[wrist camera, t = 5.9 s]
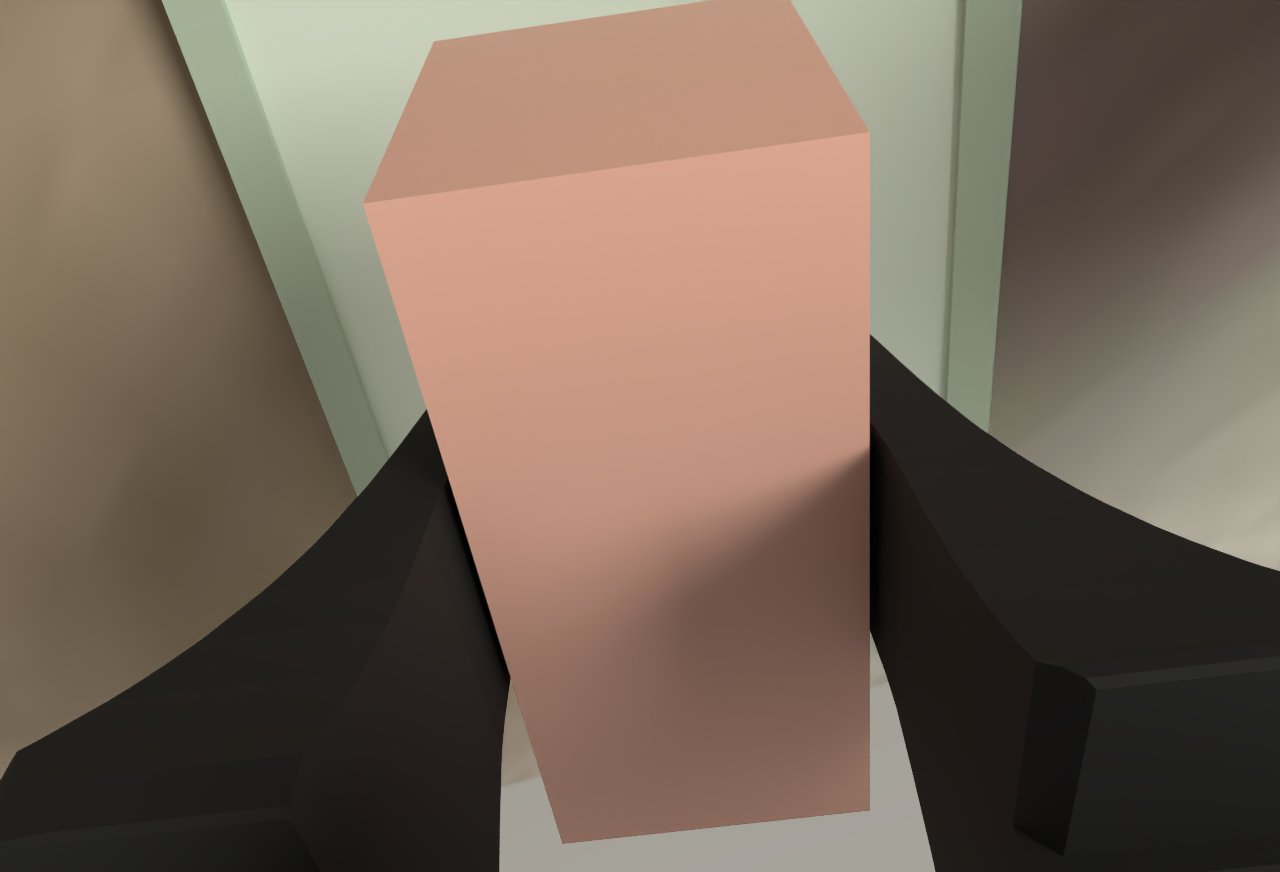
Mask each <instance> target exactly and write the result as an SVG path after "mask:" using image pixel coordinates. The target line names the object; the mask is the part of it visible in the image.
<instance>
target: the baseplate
mask: <svg viewBox="0 0 1280 872" xmlns="http://www.w3.org/2000/svg"><path fill="white" fill-rule="evenodd" d="M702 1H709V0H162V2H163V5H164V7H165V10H166V13H167V15H168V18H169V20H170V23H171V25H172V28H173V30H174V33H175V35H176V38H177V40H178V43H179V46H180V48H181V51H182V53H183V56H184V58H185V61H186V63H187V66H188V68H189V71H190V73H191V76H192V79H193V81H194V84H195V86H196V89H197V91H198V94H199V96H200V99H201V101H202V104H203V106H204V109H205V112H206V114H207V117H208V119H209V122H210V124H211V127H212V129H213V132H214V134H215V137H216V139H217V142H218V145H219V147H220V150H221V152H222V155H223V157H224V160H225V162H226V165H227V167H228V170H229V173H230V175H231V178H232V180H233V183H234V185H235V188H236V190H237V193H238V195H239V198H240V200H241V203H242V206H243V208H244V211H245V213H246V216H247V218H248V221H249V223H250V226H251V228H252V231H253V233H254V236H255V239H256V241H257V244H258V246H259V249H260V251H261V254H262V256H263V259H264V261H265V264H266V266H267V269H268V272H269V274H270V277H271V279H272V282H273V284H274V287H275V289H276V292H277V294H278V297H279V299H280V302H281V305H282V307H283V310H284V312H285V315H286V317H287V320H288V322H289V325H290V327H291V330H292V332H293V335H294V338H295V340H296V343H297V345H298V348H299V350H300V353H301V355H302V358H303V360H304V363H305V365H306V368H307V371H308V373H309V376H310V378H311V381H312V383H313V386H314V388H315V391H316V393H317V396H318V398H319V401H320V404H321V406H322V409H323V411H324V414H325V416H326V419H327V421H328V424H329V426H330V429H331V432H332V434H333V437H334V439H335V442H336V444H337V447H338V449H339V452H340V454H341V457H342V459H343V462H344V465H345V467H346V470H347V472H348V475H349V477H350V480H351V482H352V485H353V487H354V490H355V492H356V495H357V497H358V496H359V495H360V493H361V492H362V491H363V490H364V489H365V488H366V487H367V486H368V484H369V483H370V482H371V481H372V479H373V478H374V477H375V475H376V474H377V473H378V472H379V470H380V469H381V468H382V467H383V465H384V464H385V463H386V462H387V460H388V459H389V458H390V457H391V455H392V454H393V453H394V452H395V450H396V449H397V448H398V446H399V445H400V444H401V442H402V441H403V440H404V438H405V437H406V436H407V434H408V433H409V432H410V430H411V429H412V428H413V426H414V425H415V424H416V422H417V421H418V420H419V418H420V417H421V416H422V414H423V413H424V412H425V410H426V409H427V408H426V405H425V401H424V398H423V395H422V392H421V389H420V385H419V382H418V379H417V376H416V373H415V369H414V366H413V363H412V360H411V357H410V353H409V350H408V347H407V344H406V341H405V337H404V334H403V331H402V328H401V325H400V321H399V318H398V315H397V312H396V309H395V305H394V302H393V299H392V296H391V293H390V289H389V286H388V283H387V280H386V277H385V273H384V270H383V267H382V264H381V261H380V257H379V254H378V251H377V248H376V245H375V241H374V238H373V235H372V232H371V229H370V225H369V222H368V219H367V216H366V213H365V209H364V206H363V202H364V200H365V197H366V195H367V193H368V190H369V188H370V186H371V184H372V181H373V179H374V177H375V174H376V172H377V170H378V168H379V165H380V163H381V161H382V158H383V156H384V154H385V152H386V149H387V147H388V145H389V143H390V140H391V138H392V136H393V133H394V131H395V129H396V127H397V124H398V122H399V120H400V117H401V115H402V113H403V111H404V108H405V106H406V104H407V101H408V99H409V97H410V95H411V92H412V90H413V88H414V85H415V83H416V81H417V79H418V76H419V74H420V72H421V70H422V67H423V65H424V63H425V60H426V58H427V56H428V54H429V51H430V49H431V47H432V44H433V42H434V41H439V40H446V39H453V38H459V37H466V36H473V35H480V34H486V33H493V32H500V31H506V30H513V29H520V28H527V27H533V26H540V25H547V24H554V23H560V22H567V21H574V20H581V19H587V18H594V17H601V16H608V15H614V14H621V13H628V12H635V11H641V10H648V9H655V8H661V7H668V6H675V5H682V4H688V3H695V2H702ZM790 1H791V2H792V4H793V6H794V7H795V9H796V11H797V12H798V14H799V16H800V17H801V19H802V21H803V22H804V24H805V26H806V27H807V29H808V31H809V32H810V34H811V35H812V37H813V39H814V40H815V42H816V44H817V45H818V47H819V49H820V50H821V52H822V54H823V55H824V57H825V59H826V60H827V62H828V64H829V65H830V67H831V69H832V70H833V72H834V74H835V75H836V77H837V79H838V80H839V82H840V84H841V85H842V87H843V89H844V90H845V92H846V94H847V95H848V97H849V99H850V100H851V102H852V103H853V105H854V107H855V108H856V110H857V112H858V113H859V115H860V117H861V118H862V120H863V122H864V123H865V125H866V127H867V128H868V130H869V132H870V334H871V335H872V336H873V337H874V338H875V339H876V340H878V341H879V342H880V343H881V344H882V345H883V346H884V347H885V348H886V349H887V350H888V351H889V352H891V353H892V354H893V355H894V356H895V357H896V358H897V359H898V360H899V361H900V362H901V363H902V364H904V365H905V366H906V367H907V368H908V369H909V370H910V371H911V372H913V373H914V374H915V375H916V376H917V377H918V378H919V379H920V380H922V381H923V382H924V383H925V384H926V385H927V386H928V387H930V388H931V389H932V390H933V391H934V392H935V393H937V394H938V395H939V396H940V397H942V398H943V399H944V400H945V401H947V402H948V403H949V404H950V405H951V406H953V407H954V408H955V409H956V410H958V411H959V412H960V413H961V414H963V415H964V416H965V417H966V418H968V419H969V420H970V421H971V422H973V423H974V424H975V425H977V426H978V427H979V428H981V429H982V430H984V431H985V432H987V433H988V432H989V419H990V406H991V394H992V381H993V368H994V356H995V343H996V330H997V318H998V305H999V292H1000V280H1001V267H1002V254H1003V241H1004V229H1005V216H1006V203H1007V191H1008V178H1009V165H1010V153H1011V140H1012V127H1013V115H1014V102H1015V89H1016V77H1017V64H1018V51H1019V38H1020V26H1021V13H1022V0H790Z"/></svg>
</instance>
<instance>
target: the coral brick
mask: <svg viewBox="0 0 1280 872" xmlns="http://www.w3.org/2000/svg"><path fill="white" fill-rule="evenodd" d="M363 206H364V209H365V213H366V216H367V219H368V222H369V225H370V229H371V232H372V235H373V238H374V241H375V245H376V248H377V251H378V254H379V257H380V261H381V264H382V267H383V270H384V273H385V277H386V280H387V283H388V286H389V289H390V293H391V296H392V299H393V302H394V305H395V309H396V312H397V315H398V318H399V321H400V325H401V328H402V331H403V334H404V337H405V341H406V344H407V347H408V350H409V353H410V357H411V360H412V363H413V366H414V369H415V373H416V376H417V379H418V382H419V385H420V389H421V392H422V395H423V398H424V401H425V405H426V408H427V411H428V414H429V418H430V421H431V424H432V427H433V430H434V434H435V437H436V440H437V443H438V446H439V450H440V453H441V456H442V459H443V462H444V466H445V469H446V472H447V475H448V478H449V482H450V485H451V488H452V491H453V494H454V498H455V501H456V504H457V507H458V510H459V514H460V517H461V520H462V523H463V526H464V530H465V533H466V536H467V539H468V542H469V546H470V549H471V552H472V555H473V558H474V562H475V565H476V568H477V571H478V574H479V578H480V581H481V584H482V587H483V590H484V594H485V597H486V600H487V603H488V606H489V610H490V613H491V616H492V619H493V622H494V626H495V629H496V632H497V635H498V638H499V642H500V645H501V648H502V651H503V654H504V658H505V661H506V664H507V667H508V670H509V674H510V677H511V680H512V683H513V686H514V690H515V693H516V696H517V699H518V702H519V706H520V709H521V712H522V715H523V718H524V722H525V725H526V728H527V731H528V734H529V738H530V741H531V744H532V747H533V751H534V754H535V757H536V760H537V763H538V767H539V770H540V773H541V776H542V779H543V782H544V786H545V789H546V792H547V795H548V799H549V802H550V805H551V808H552V811H553V815H554V818H555V821H556V824H557V827H558V830H559V834H560V837H561V840H562V843H563V844H565V843H574V842H583V841H592V840H601V839H610V838H620V837H629V836H638V835H648V834H657V833H666V832H675V831H684V830H694V829H702V828H712V827H720V826H730V825H740V824H749V823H758V822H767V821H777V820H786V819H794V818H804V817H813V816H822V815H831V814H841V813H850V812H860V811H869V809H870V807H869V806H870V798H869V797H870V793H869V791H870V789H869V788H870V787H869V784H870V780H869V778H870V775H869V774H870V772H869V771H870V770H869V769H870V763H869V762H870V759H869V758H870V752H869V751H870V745H869V744H870V740H869V739H870V735H869V734H870V733H869V732H870V726H869V724H870V723H869V722H870V716H869V715H870V714H869V713H870V711H869V709H870V707H869V706H870V704H869V703H870V702H869V701H870V696H869V695H870V132H869V130H868V128H867V127H866V125H865V123H864V122H863V120H862V118H861V117H860V115H859V113H858V112H857V110H856V108H855V107H854V105H853V103H852V102H851V100H850V99H849V97H848V95H847V94H846V92H845V90H844V89H843V87H842V85H841V84H840V82H839V80H838V79H837V77H836V75H835V74H834V72H833V70H832V69H831V67H830V65H829V64H828V62H827V60H826V59H825V57H824V55H823V54H822V52H821V50H820V49H819V47H818V45H817V44H816V42H815V40H814V39H813V37H812V35H811V34H810V32H809V31H808V29H807V27H806V26H805V24H804V22H803V21H802V19H801V17H800V16H799V14H798V12H797V11H796V9H795V7H794V6H793V4H792V2H791V1H790V0H709V1H702V2H695V3H688V4H682V5H675V6H668V7H661V8H655V9H648V10H641V11H635V12H628V13H621V14H614V15H608V16H601V17H594V18H587V19H581V20H574V21H567V22H560V23H554V24H547V25H540V26H533V27H527V28H520V29H513V30H506V31H500V32H493V33H486V34H480V35H473V36H466V37H459V38H453V39H446V40H439V41H434V42H433V44H432V47H431V49H430V51H429V54H428V56H427V58H426V60H425V63H424V65H423V67H422V70H421V72H420V74H419V76H418V79H417V81H416V83H415V85H414V88H413V90H412V92H411V95H410V97H409V99H408V101H407V104H406V106H405V108H404V111H403V113H402V115H401V117H400V120H399V122H398V124H397V127H396V129H395V131H394V133H393V136H392V138H391V140H390V143H389V145H388V147H387V149H386V152H385V154H384V156H383V158H382V161H381V163H380V165H379V168H378V170H377V172H376V174H375V177H374V179H373V181H372V184H371V186H370V188H369V190H368V193H367V195H366V197H365V200H364V202H363Z"/></svg>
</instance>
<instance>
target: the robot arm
mask: <svg viewBox="0 0 1280 872" xmlns="http://www.w3.org/2000/svg"><path fill="white" fill-rule="evenodd" d="M870 632H871V634H872V637H873V640H874V643H875V645H876V648H877V651H878V654H879V656H880V659H881V662H882V664H883V667H884V670H885V673H886V676H887V679H888V682H889V685H890V688H891V691H892V695H893V698H894V701H895V704H896V708H897V712H898V715H899V720H900V724H901V728H902V732H903V736H904V740H905V744H906V748H907V752H908V756H909V760H910V764H911V768H912V772H913V776H914V781H915V785H916V789H917V794H918V798H919V802H920V806H921V810H922V815H923V819H924V823H925V827H926V832H927V836H928V840H929V845H930V849H931V853H932V858H933V862H934V866H935V871H936V872H1280V571H1277V570H1274V569H1270V568H1267V567H1263V566H1260V565H1257V564H1254V563H1251V562H1248V561H1245V560H1242V559H1239V558H1237V557H1234V556H1231V555H1228V554H1226V553H1223V552H1220V551H1217V550H1215V549H1212V548H1209V547H1206V546H1204V545H1201V544H1198V543H1195V542H1193V541H1190V540H1188V539H1185V538H1183V537H1180V536H1178V535H1175V534H1173V533H1170V532H1168V531H1166V530H1163V529H1161V528H1158V527H1156V526H1153V525H1151V524H1149V523H1147V522H1145V521H1143V520H1140V519H1138V518H1136V517H1134V516H1132V515H1130V514H1127V513H1125V512H1123V511H1121V510H1119V509H1117V508H1114V507H1112V506H1110V505H1108V504H1106V503H1104V502H1102V501H1100V500H1098V499H1096V498H1094V497H1092V496H1090V495H1088V494H1086V493H1084V492H1082V491H1080V490H1078V489H1076V488H1075V487H1073V486H1071V485H1069V484H1068V483H1066V482H1064V481H1062V480H1061V479H1059V478H1057V477H1056V476H1054V475H1052V474H1050V473H1049V472H1047V471H1045V470H1043V469H1042V468H1040V467H1038V466H1036V465H1035V464H1033V463H1031V462H1030V461H1028V460H1027V459H1025V458H1023V457H1022V456H1020V455H1019V454H1017V453H1016V452H1014V451H1012V450H1011V449H1010V448H1008V447H1007V446H1005V445H1004V444H1002V443H1001V442H999V441H998V440H997V439H995V438H994V437H992V436H991V435H989V434H988V433H987V432H985V431H984V430H982V429H981V428H979V427H978V426H977V425H975V424H974V423H973V422H971V421H970V420H969V419H968V418H966V417H965V416H964V415H963V414H961V413H960V412H959V411H958V410H956V409H955V408H954V407H953V406H951V405H950V404H949V403H948V402H947V401H945V400H944V399H943V398H942V397H940V396H939V395H938V394H937V393H935V392H934V391H933V390H932V389H931V388H930V387H928V386H927V385H926V384H925V383H924V382H923V381H922V380H920V379H919V378H918V377H917V376H916V375H915V374H914V373H913V372H911V371H910V370H909V369H908V368H907V367H906V366H905V365H904V364H902V363H901V362H900V361H899V360H898V359H897V358H896V357H895V356H894V355H893V354H892V353H891V352H889V351H888V350H887V349H886V348H885V347H884V346H883V345H882V344H881V343H880V342H879V341H878V340H876V339H875V338H874V337H873V336H872V335H871V334H870ZM510 678H511V677H510V674H509V670H508V667H507V664H506V661H505V658H504V654H503V651H502V648H501V645H500V642H499V638H498V635H497V632H496V629H495V626H494V622H493V619H492V616H491V613H490V610H489V606H488V603H487V600H486V597H485V594H484V590H483V587H482V584H481V581H480V578H479V574H478V571H477V568H476V565H475V562H474V558H473V555H472V552H471V549H470V546H469V542H468V539H467V536H466V533H465V530H464V526H463V523H462V520H461V517H460V514H459V510H458V507H457V504H456V501H455V498H454V494H453V491H452V488H451V485H450V482H449V478H448V475H447V472H446V469H445V466H444V462H443V459H442V456H441V453H440V450H439V446H438V443H437V440H436V437H435V434H434V430H433V427H432V424H431V421H430V418H429V414H428V411H427V409H426V410H425V412H424V413H423V414H422V416H421V417H420V418H419V420H418V421H417V422H416V424H415V425H414V426H413V428H412V429H411V430H410V432H409V433H408V434H407V436H406V437H405V438H404V440H403V441H402V442H401V444H400V445H399V446H398V448H397V449H396V450H395V452H394V453H393V454H392V455H391V457H390V458H389V459H388V460H387V462H386V463H385V464H384V465H383V467H382V468H381V469H380V470H379V472H378V473H377V474H376V475H375V477H374V478H373V479H372V481H371V482H370V483H369V484H368V486H367V487H366V488H365V489H364V490H363V491H362V492H361V493H360V495H359V496H358V497H357V498H356V499H355V500H354V501H353V502H352V504H351V505H350V506H349V507H348V508H347V509H346V510H345V511H344V513H343V514H342V515H341V516H340V517H339V518H338V519H337V520H336V522H335V523H334V524H333V525H332V526H331V527H330V528H329V529H328V530H327V532H326V533H325V534H324V535H323V536H322V537H321V538H320V539H319V540H318V541H317V542H316V543H315V544H314V545H313V546H312V547H311V548H310V549H309V550H308V551H307V552H306V553H305V554H304V555H303V556H302V557H300V558H299V559H298V560H297V561H296V562H295V563H294V564H293V565H292V566H291V567H290V568H288V569H287V570H286V571H285V572H284V573H283V574H282V575H281V576H280V577H279V578H278V579H276V580H275V581H274V582H273V583H272V584H271V585H270V586H268V587H267V588H266V589H265V590H264V591H263V592H262V593H260V594H259V595H258V596H256V597H255V598H254V599H253V600H251V601H250V602H249V603H248V604H246V605H245V606H244V607H242V608H241V609H240V610H239V611H237V612H236V613H235V614H234V615H232V616H231V617H230V618H229V619H227V620H226V621H225V622H223V623H222V624H221V625H220V626H218V627H217V628H216V629H215V630H213V631H212V632H211V633H210V634H208V635H207V636H206V637H204V638H203V639H202V640H200V641H199V642H197V643H196V644H195V645H193V646H192V647H190V648H189V649H187V650H186V651H185V652H183V653H182V654H180V655H179V656H177V657H176V658H175V659H173V660H172V661H170V662H169V663H167V664H166V665H164V666H163V667H161V668H160V669H158V670H157V671H155V672H154V673H152V674H150V675H149V676H147V677H146V678H144V679H143V680H141V681H140V682H138V683H137V684H135V685H133V686H132V687H130V688H129V689H127V690H126V691H124V692H122V693H121V694H119V695H117V696H116V697H114V698H112V699H111V700H109V701H108V702H106V703H104V704H102V705H100V706H99V707H97V708H95V709H93V710H92V711H90V712H88V713H86V714H85V715H83V716H81V717H79V718H77V719H76V720H74V721H72V722H70V723H69V724H67V725H65V726H63V727H61V728H60V729H58V730H56V731H54V732H53V733H51V734H49V735H47V736H45V737H44V738H42V739H40V740H38V741H36V742H35V743H33V744H31V745H29V746H27V747H25V748H23V749H21V750H19V751H17V753H16V754H15V756H14V758H13V759H12V761H11V763H10V764H9V766H8V768H7V770H6V772H5V773H4V775H3V777H2V779H1V781H0V872H499V846H500V845H499V844H500V840H499V839H500V797H501V796H500V795H501V762H502V744H503V733H504V722H505V714H506V707H507V699H508V692H509V685H510Z"/></svg>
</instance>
